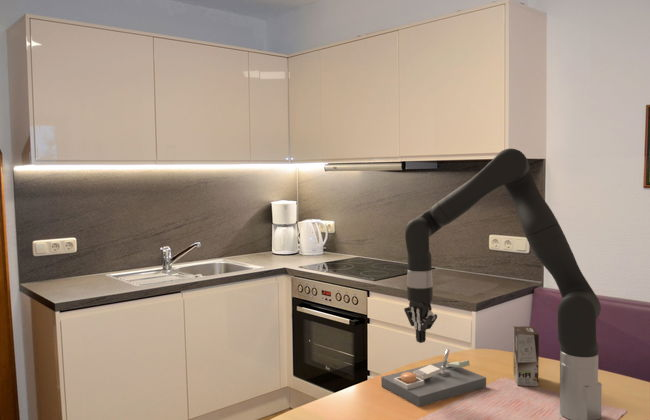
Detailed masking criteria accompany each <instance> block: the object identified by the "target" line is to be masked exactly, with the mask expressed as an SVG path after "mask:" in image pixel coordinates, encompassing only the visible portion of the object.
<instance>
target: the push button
mask: <svg viewBox="0 0 650 420" xmlns="http://www.w3.org/2000/svg"><path fill="white" fill-rule="evenodd" d="M401 381H402V382H404V383H406V384H410V383H413V382H416V374H414V373H410V372H406V373H402V374H401Z"/></svg>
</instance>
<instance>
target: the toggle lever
mask: <svg viewBox="0 0 650 420" xmlns="http://www.w3.org/2000/svg"><path fill="white" fill-rule="evenodd" d="M449 355H450V349H449V348H446V349H445V352H444V356H443V360H442V361H443V364H442V367H441V370H443V371H444V370H445V369H446V368H445V367H446V363H447V362H448V357H449Z"/></svg>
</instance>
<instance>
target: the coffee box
mask: <svg viewBox="0 0 650 420" xmlns="http://www.w3.org/2000/svg"><path fill="white" fill-rule="evenodd" d="M512 329H513V330H512V333H513V342H512V344H513V345H512V346H513V376H514V380H515V382H516V385H517V386H523V387H524V386H526V387H539V360H540V359H539V357H540V355H539V353H540V352H539V351H540V350H539V347H540V346H539V345H540V341H539V340H540V339H539V337H540V334H539V332H538V331H537V330H536V327H534V326H527V325H526V326H525V325H524V326H522V325H521V326H513V328H512Z"/></svg>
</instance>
